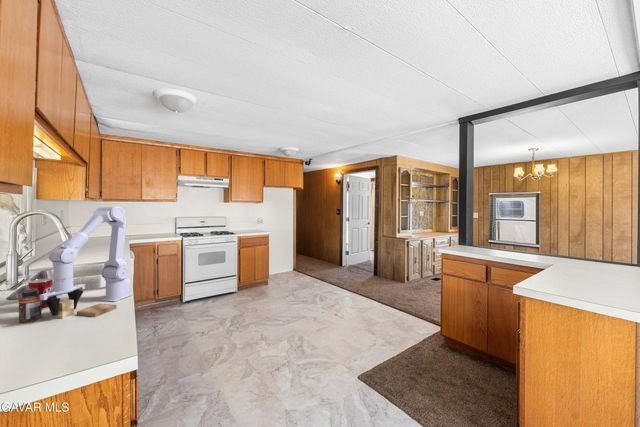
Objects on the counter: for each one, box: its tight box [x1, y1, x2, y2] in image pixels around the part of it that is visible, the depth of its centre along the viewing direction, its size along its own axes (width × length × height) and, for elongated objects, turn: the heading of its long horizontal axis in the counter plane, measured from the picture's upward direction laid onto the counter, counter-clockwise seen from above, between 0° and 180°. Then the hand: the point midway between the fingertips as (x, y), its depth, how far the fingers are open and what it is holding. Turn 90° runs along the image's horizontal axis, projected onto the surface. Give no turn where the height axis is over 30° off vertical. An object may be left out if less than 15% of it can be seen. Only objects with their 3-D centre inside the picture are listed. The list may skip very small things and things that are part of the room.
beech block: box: [53, 298, 75, 319], centre depth 105 cm, size 4×4×6 cm
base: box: [76, 303, 117, 318], centre depth 110 cm, size 9×9×2 cm
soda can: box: [27, 278, 54, 311], centre depth 114 cm, size 7×7×12 cm
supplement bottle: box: [18, 289, 43, 323], centre depth 102 cm, size 6×6×11 cm
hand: (64, 312), depth 106 cm, fingers open, 6 cm apart
